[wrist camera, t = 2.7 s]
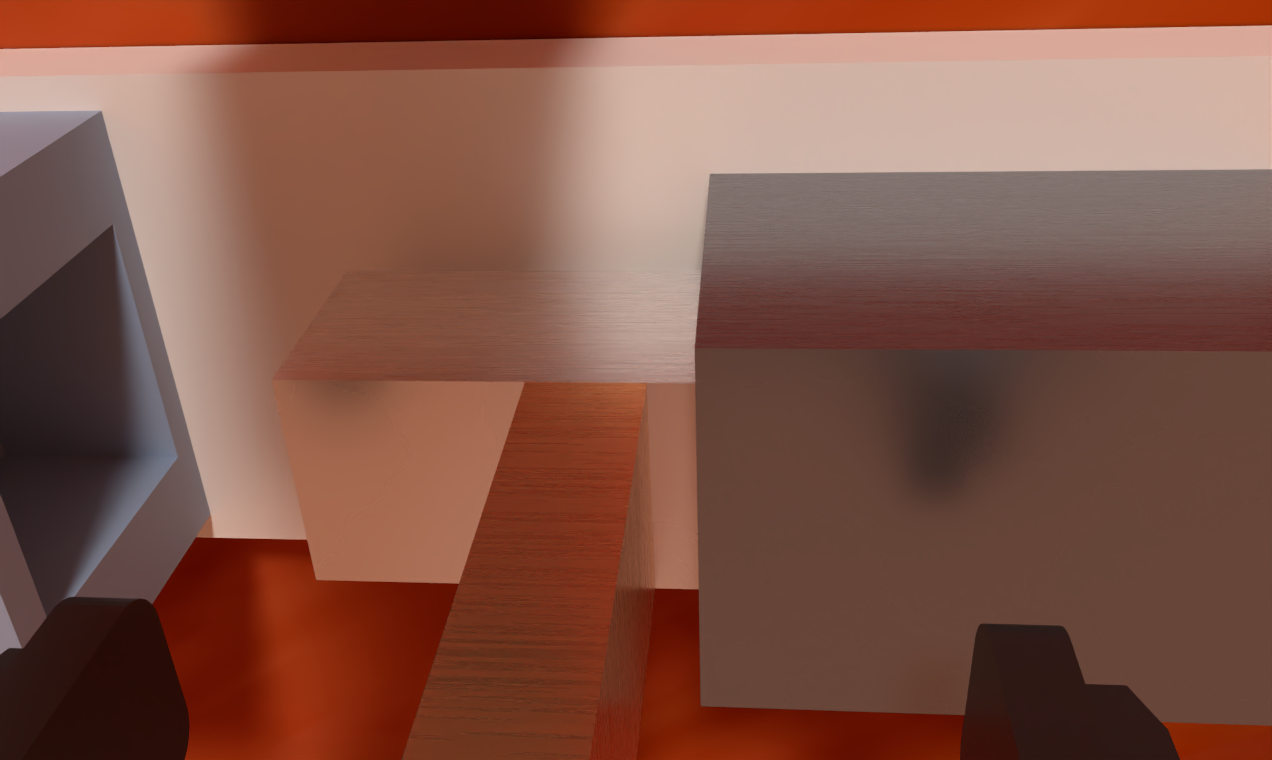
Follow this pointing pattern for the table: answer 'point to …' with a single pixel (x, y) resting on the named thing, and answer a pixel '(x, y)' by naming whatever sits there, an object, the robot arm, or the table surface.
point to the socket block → (81, 385)
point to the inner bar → (507, 485)
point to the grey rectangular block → (985, 434)
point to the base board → (564, 164)
